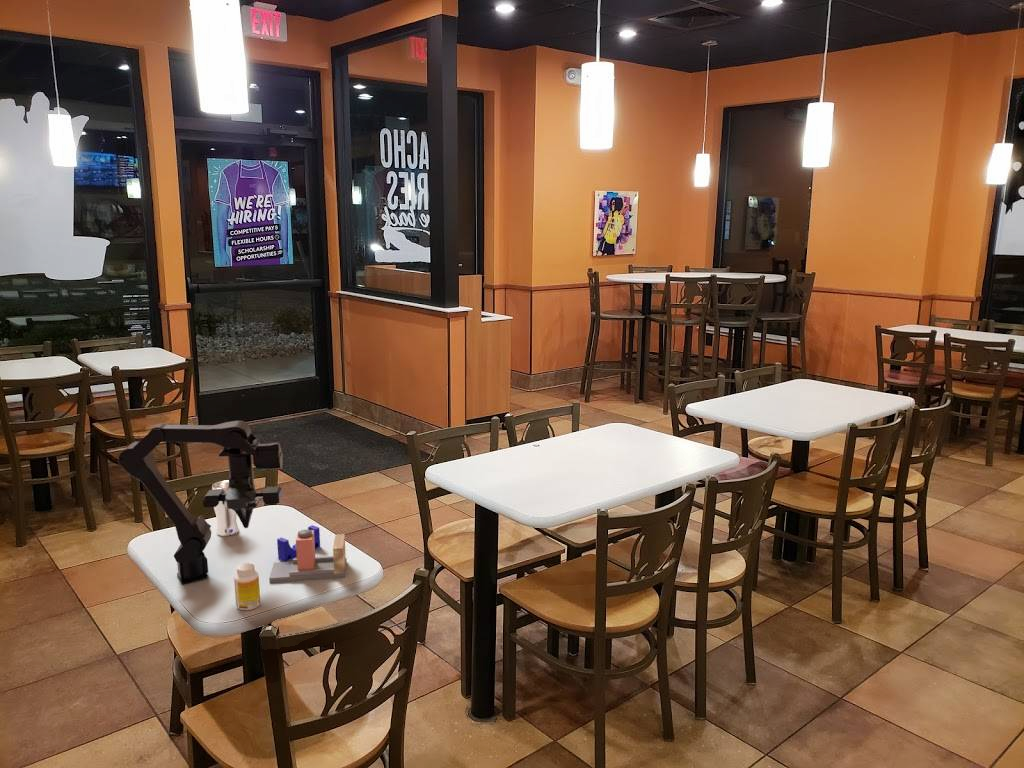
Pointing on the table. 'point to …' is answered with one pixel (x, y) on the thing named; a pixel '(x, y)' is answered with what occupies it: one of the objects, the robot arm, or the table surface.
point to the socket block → (339, 553)
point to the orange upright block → (305, 550)
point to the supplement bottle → (247, 587)
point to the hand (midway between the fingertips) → (246, 527)
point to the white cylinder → (225, 513)
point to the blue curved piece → (294, 546)
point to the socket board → (291, 573)
